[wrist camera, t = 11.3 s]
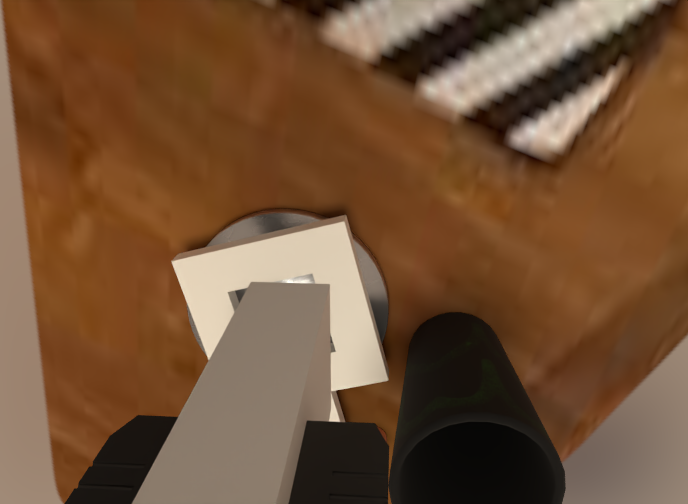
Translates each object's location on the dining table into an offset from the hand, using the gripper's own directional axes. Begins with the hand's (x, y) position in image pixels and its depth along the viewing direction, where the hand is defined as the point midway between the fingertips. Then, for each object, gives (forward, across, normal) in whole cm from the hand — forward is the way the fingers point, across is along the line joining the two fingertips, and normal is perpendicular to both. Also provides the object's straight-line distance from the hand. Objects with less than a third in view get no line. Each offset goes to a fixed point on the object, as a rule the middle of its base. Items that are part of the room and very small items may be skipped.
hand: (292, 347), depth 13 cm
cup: (+25, +6, -14) cm, 29 cm away
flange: (+23, -3, -14) cm, 27 cm away
